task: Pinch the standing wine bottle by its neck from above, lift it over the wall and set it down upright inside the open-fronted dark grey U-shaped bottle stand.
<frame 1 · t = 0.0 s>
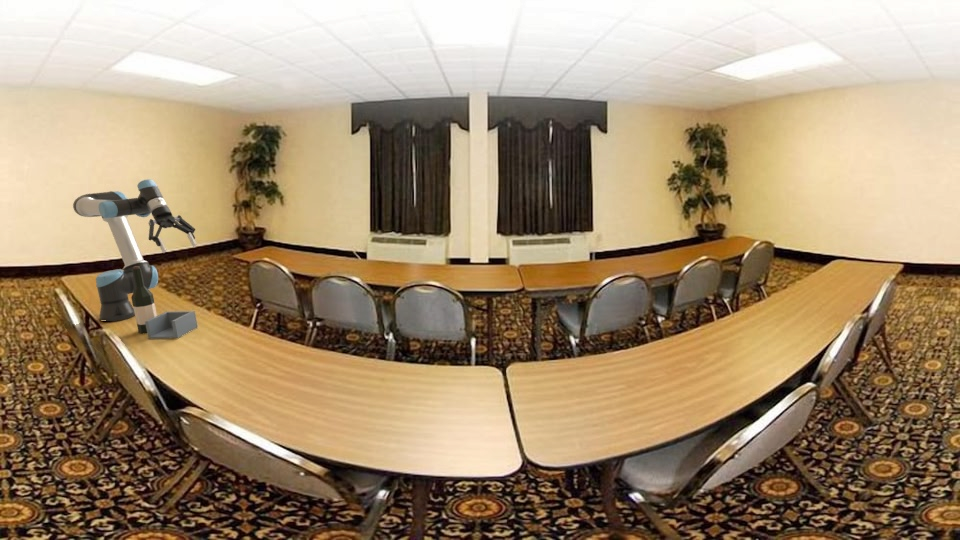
hand: (180, 248, 249), 36 cm above the table, tool tilted 35°, fingers open, 13 cm apart
wine bottle: (149, 330, 251), on the table
bottle stand: (173, 333, 245), on the table
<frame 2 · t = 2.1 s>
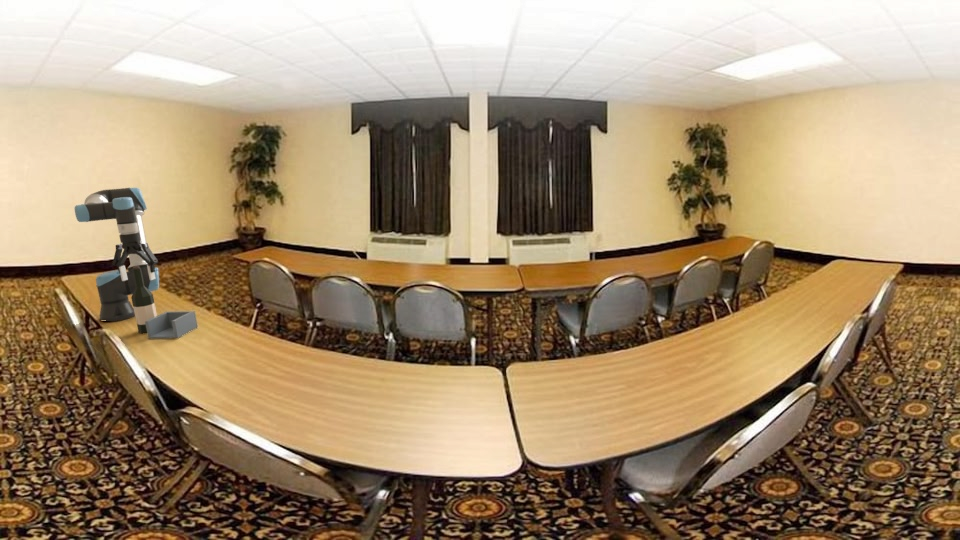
hand: (138, 280, 245), 24 cm above the table, tool pointing down, fingers open, 13 cm apart
nothing on the table moved.
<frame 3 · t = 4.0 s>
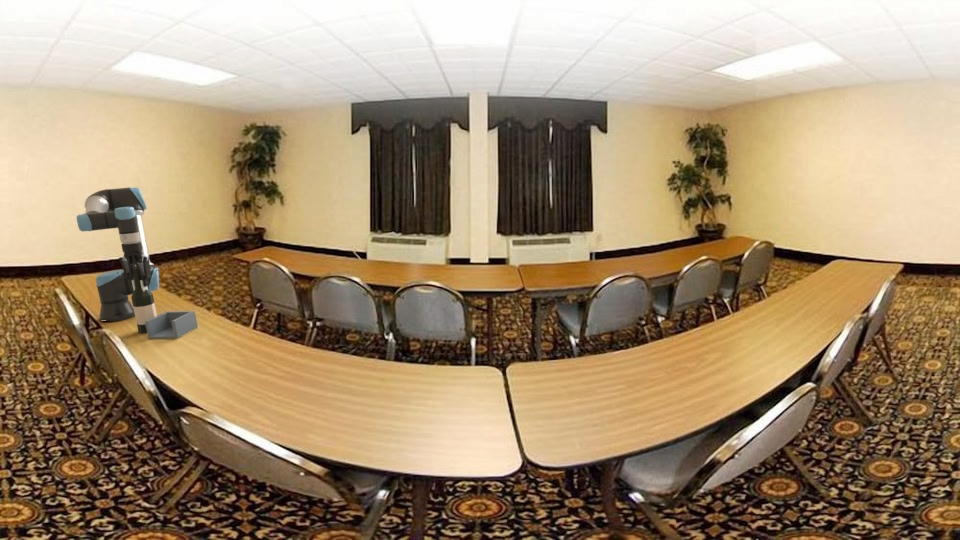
hand: (141, 293, 247), 18 cm above the table, tool pointing down, fingers closed on wine bottle, 3 cm apart
wine bottle: (149, 330, 251), on the table, touching gripper
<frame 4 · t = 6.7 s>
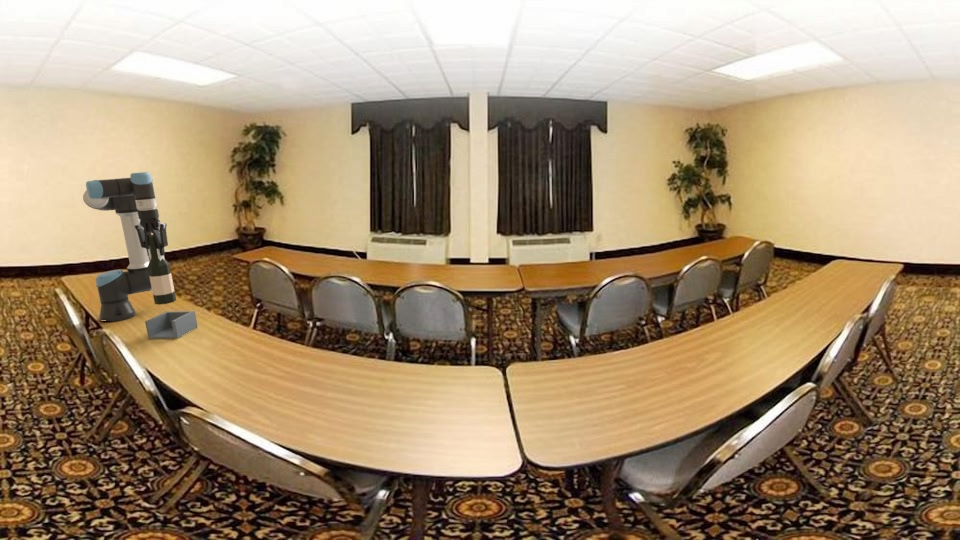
hand: (158, 263, 238), 32 cm above the table, tool pointing down, fingers closed on wine bottle, 3 cm apart
wine bottle: (165, 302, 242), point 14 cm above the table, touching gripper
when the fingers open (20 cm above the table, at t = 9.6 s): wine bottle drops 1 cm, resting on bottle stand.
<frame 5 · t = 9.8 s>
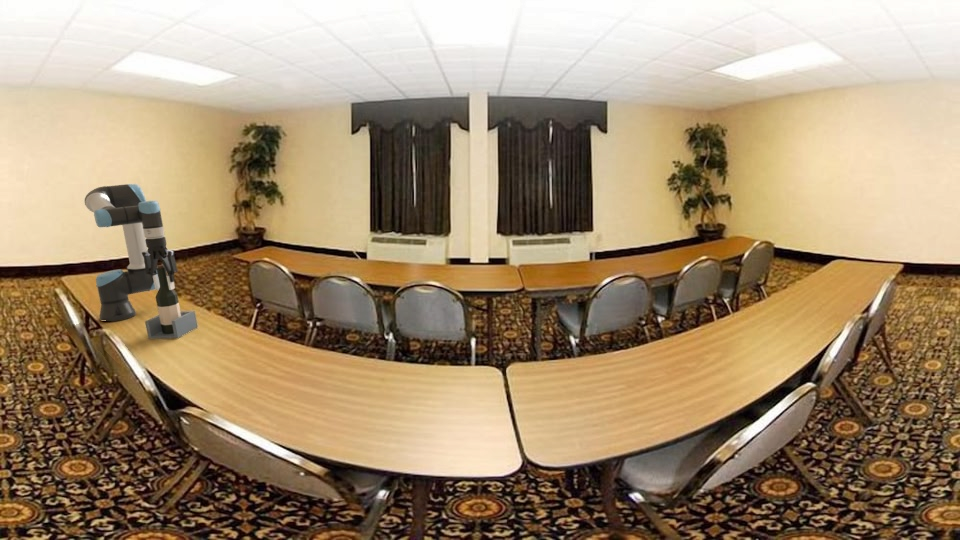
hand: (165, 289, 240), 20 cm above the table, tool pointing down, fingers open, 6 cm apart
wine bottle: (173, 331, 245), point 1 cm above the table, touching bottle stand
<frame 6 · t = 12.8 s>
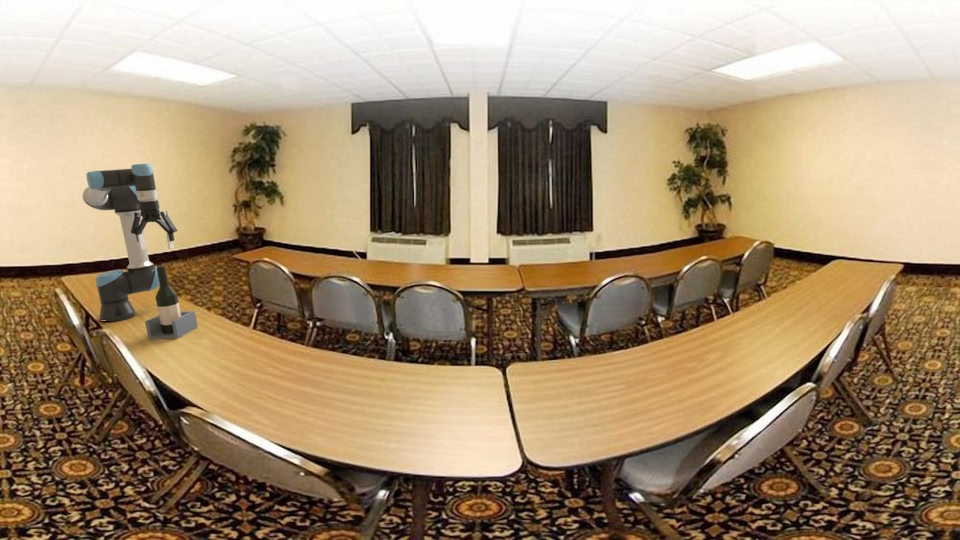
hand: (157, 248, 240), 38 cm above the table, tool pointing down, fingers open, 13 cm apart
nothing on the table moved.
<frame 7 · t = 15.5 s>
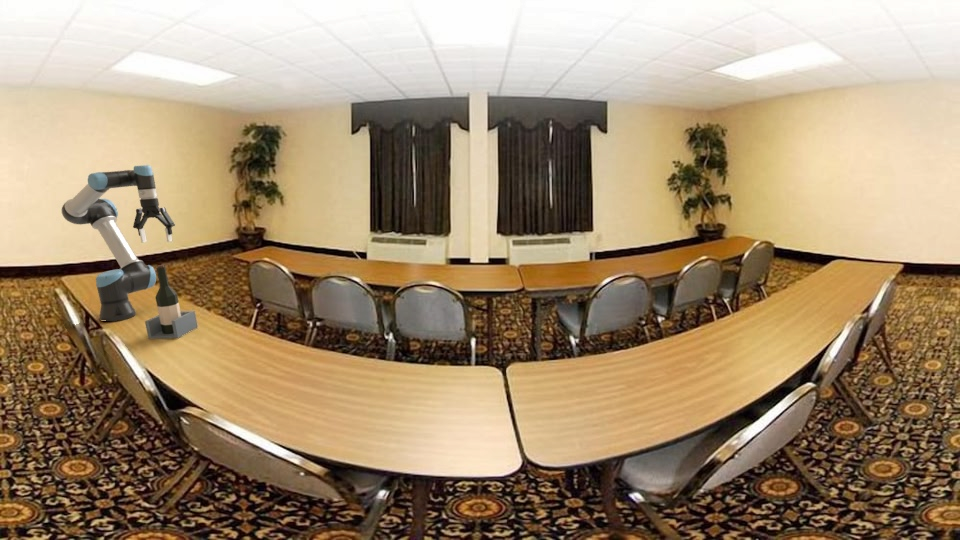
hand: (157, 241, 267), 37 cm above the table, tool pointing down, fingers open, 13 cm apart
nothing on the table moved.
at the end: wine bottle 0.1 cm off-centre on the bottle stand, point 0.8 cm above the bottle stand's base; wine bottle tilted 0°; the gripper is holding nothing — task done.
